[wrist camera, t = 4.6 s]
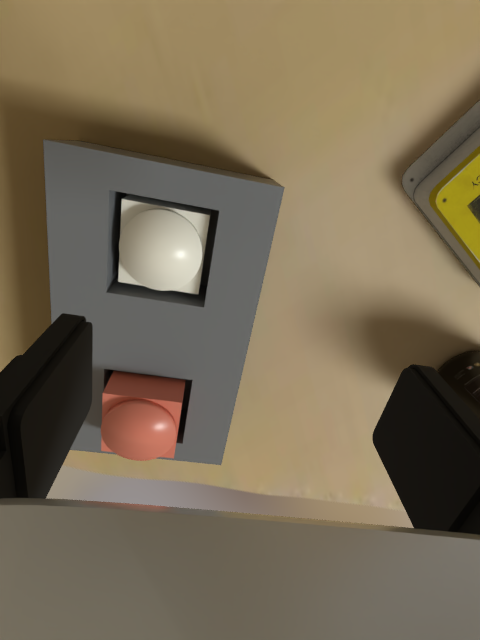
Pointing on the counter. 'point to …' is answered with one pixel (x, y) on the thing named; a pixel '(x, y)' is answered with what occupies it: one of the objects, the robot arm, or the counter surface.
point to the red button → (141, 415)
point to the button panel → (155, 305)
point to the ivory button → (162, 244)
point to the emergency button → (452, 188)
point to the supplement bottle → (464, 378)
